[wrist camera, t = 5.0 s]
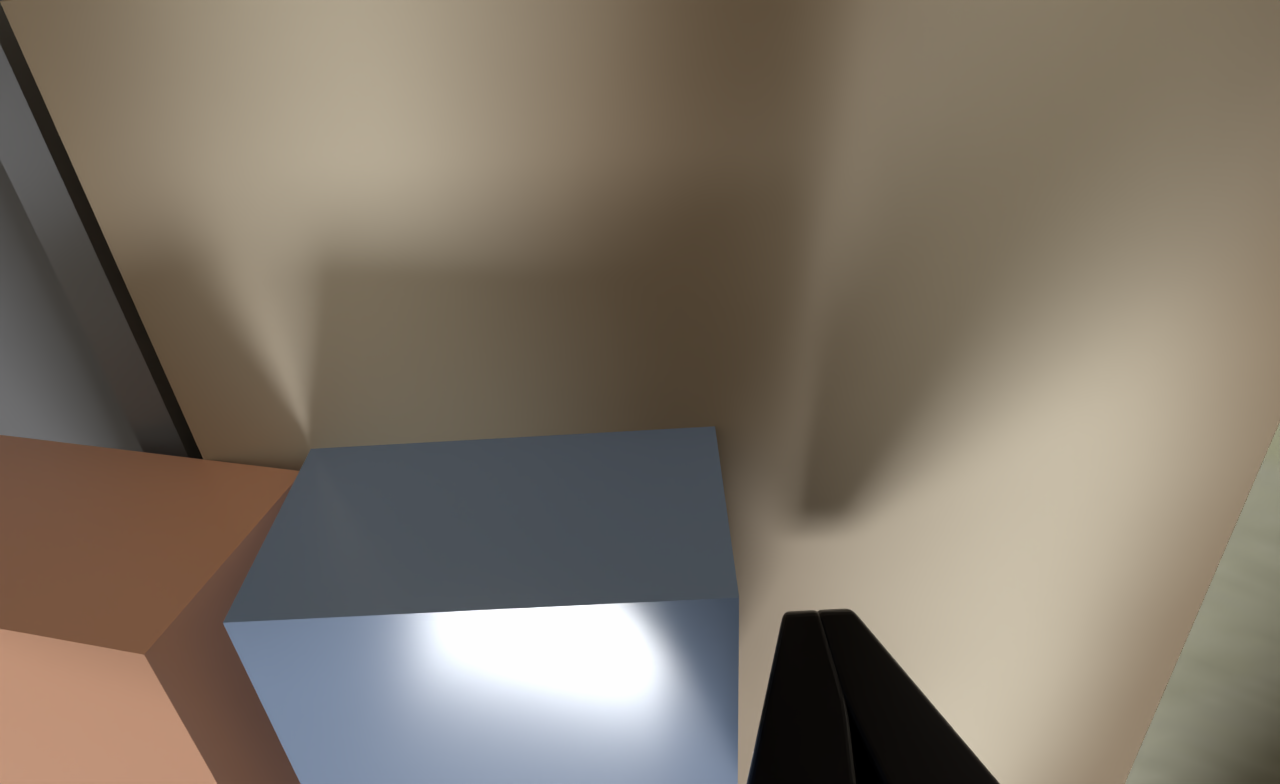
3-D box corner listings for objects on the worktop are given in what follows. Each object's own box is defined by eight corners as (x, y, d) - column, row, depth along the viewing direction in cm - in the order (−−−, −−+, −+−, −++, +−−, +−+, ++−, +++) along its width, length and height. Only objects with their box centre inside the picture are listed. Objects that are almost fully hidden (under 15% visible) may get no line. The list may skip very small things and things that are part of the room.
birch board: (1268, -132, 9) (1509, -114, 7) (1027, 695, 17) (1097, 847, 14) (164, -47, 9) (-2, 0, 7) (425, 728, 17) (391, 882, 15)
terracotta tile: (302, 470, 9) (143, 654, 7) (390, 723, 12) (289, 912, 10) (-30, 431, 10) (-249, 583, 8) (116, 672, 13) (-26, 833, 11)
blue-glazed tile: (715, 426, 9) (738, 597, 7) (718, 687, 12) (736, 870, 10) (311, 448, 10) (223, 623, 7) (397, 702, 12) (349, 886, 10)
